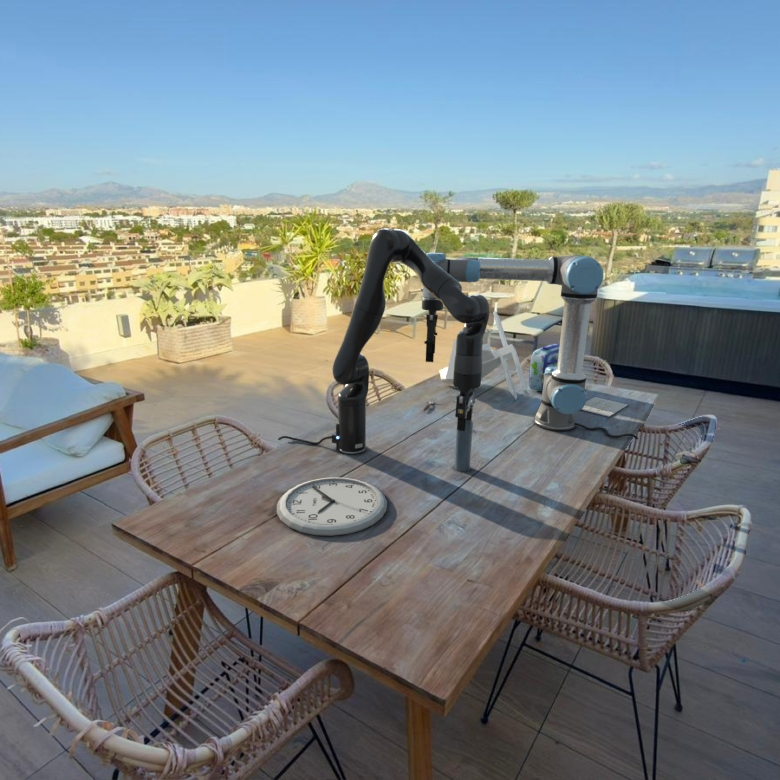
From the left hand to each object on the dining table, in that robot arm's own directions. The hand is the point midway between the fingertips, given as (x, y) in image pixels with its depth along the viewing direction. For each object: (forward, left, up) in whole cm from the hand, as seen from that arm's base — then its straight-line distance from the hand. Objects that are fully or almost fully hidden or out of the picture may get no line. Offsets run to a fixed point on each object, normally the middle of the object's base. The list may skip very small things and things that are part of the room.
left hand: (464, 425), depth 147 cm
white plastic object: (-13, +96, -20) cm, 99 cm away
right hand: (-23, +42, +8) cm, 48 cm away
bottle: (-3, +14, -20) cm, 25 cm away
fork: (-30, +67, -20) cm, 76 cm away
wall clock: (-30, -22, -20) cm, 43 cm away
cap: (-3, +14, 0) cm, 14 cm away
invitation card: (+40, +96, -20) cm, 106 cm away
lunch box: (+16, +116, -20) cm, 118 cm away
